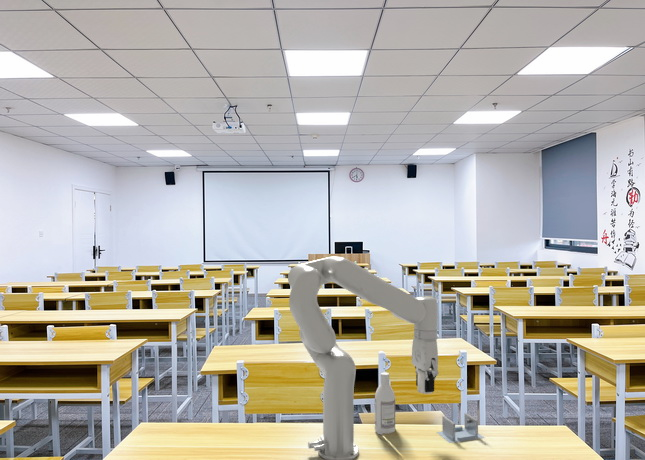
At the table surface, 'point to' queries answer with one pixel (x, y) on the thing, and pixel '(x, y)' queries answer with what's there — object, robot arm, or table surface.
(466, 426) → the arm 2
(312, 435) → the table surface
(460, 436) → the holder
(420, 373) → the roll
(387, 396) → the bath foam
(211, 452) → the table surface
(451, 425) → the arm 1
